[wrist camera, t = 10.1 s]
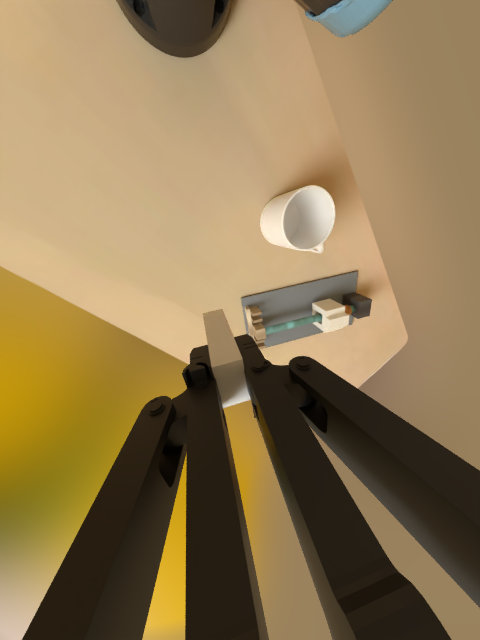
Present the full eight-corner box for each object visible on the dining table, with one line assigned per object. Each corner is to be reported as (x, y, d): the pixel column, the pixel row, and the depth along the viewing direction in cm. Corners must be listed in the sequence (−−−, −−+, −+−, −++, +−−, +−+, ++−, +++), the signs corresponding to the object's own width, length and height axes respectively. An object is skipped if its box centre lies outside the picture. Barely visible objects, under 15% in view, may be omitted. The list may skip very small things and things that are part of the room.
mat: (241, 297, 44) (241, 298, 43) (356, 271, 47) (357, 271, 47) (249, 350, 50) (250, 351, 49) (350, 323, 54) (352, 324, 53)
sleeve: (312, 302, 46) (330, 313, 40) (329, 298, 47) (350, 308, 41) (312, 322, 48) (329, 336, 42) (328, 318, 49) (347, 330, 43)
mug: (288, 265, 43) (316, 276, 34) (249, 222, 38) (270, 220, 28) (317, 233, 42) (356, 235, 32) (282, 184, 36) (314, 169, 27)
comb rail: (244, 305, 44) (251, 316, 39) (353, 279, 48) (373, 286, 43) (250, 343, 49) (257, 357, 44) (349, 317, 53) (367, 327, 47)
